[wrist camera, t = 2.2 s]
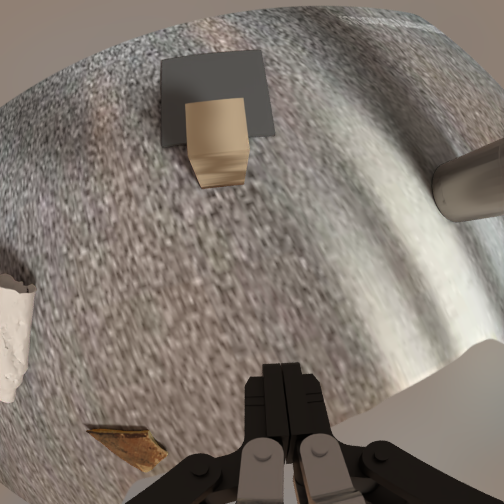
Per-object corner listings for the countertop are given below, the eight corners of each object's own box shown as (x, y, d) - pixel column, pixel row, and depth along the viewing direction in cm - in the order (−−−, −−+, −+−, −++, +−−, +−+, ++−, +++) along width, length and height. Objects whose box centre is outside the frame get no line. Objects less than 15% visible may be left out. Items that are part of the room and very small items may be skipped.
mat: (260, 52, 36) (261, 50, 35) (274, 135, 36) (275, 134, 35) (162, 62, 35) (162, 60, 34) (162, 147, 35) (161, 146, 34)
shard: (89, 426, 34) (84, 432, 32) (111, 398, 34) (107, 403, 32) (147, 469, 34) (145, 476, 32) (174, 444, 34) (172, 451, 33)
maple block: (239, 145, 35) (243, 97, 23) (243, 184, 35) (249, 149, 23) (198, 150, 35) (185, 103, 23) (201, 188, 35) (187, 156, 23)
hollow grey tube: (2, 376, 32) (-27, 391, 24) (10, 268, 33) (-25, 270, 25) (36, 399, 33) (9, 419, 25) (47, 288, 33) (12, 294, 25)
